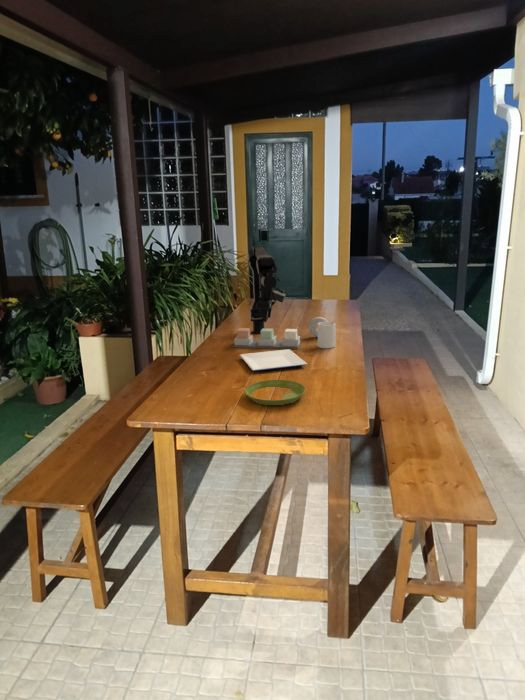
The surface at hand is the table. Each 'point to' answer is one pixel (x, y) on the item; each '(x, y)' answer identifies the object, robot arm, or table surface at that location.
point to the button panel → (267, 343)
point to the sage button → (267, 333)
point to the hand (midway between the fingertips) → (267, 319)
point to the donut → (313, 325)
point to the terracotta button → (243, 333)
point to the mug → (326, 334)
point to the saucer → (288, 398)
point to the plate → (272, 359)
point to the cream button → (291, 334)
